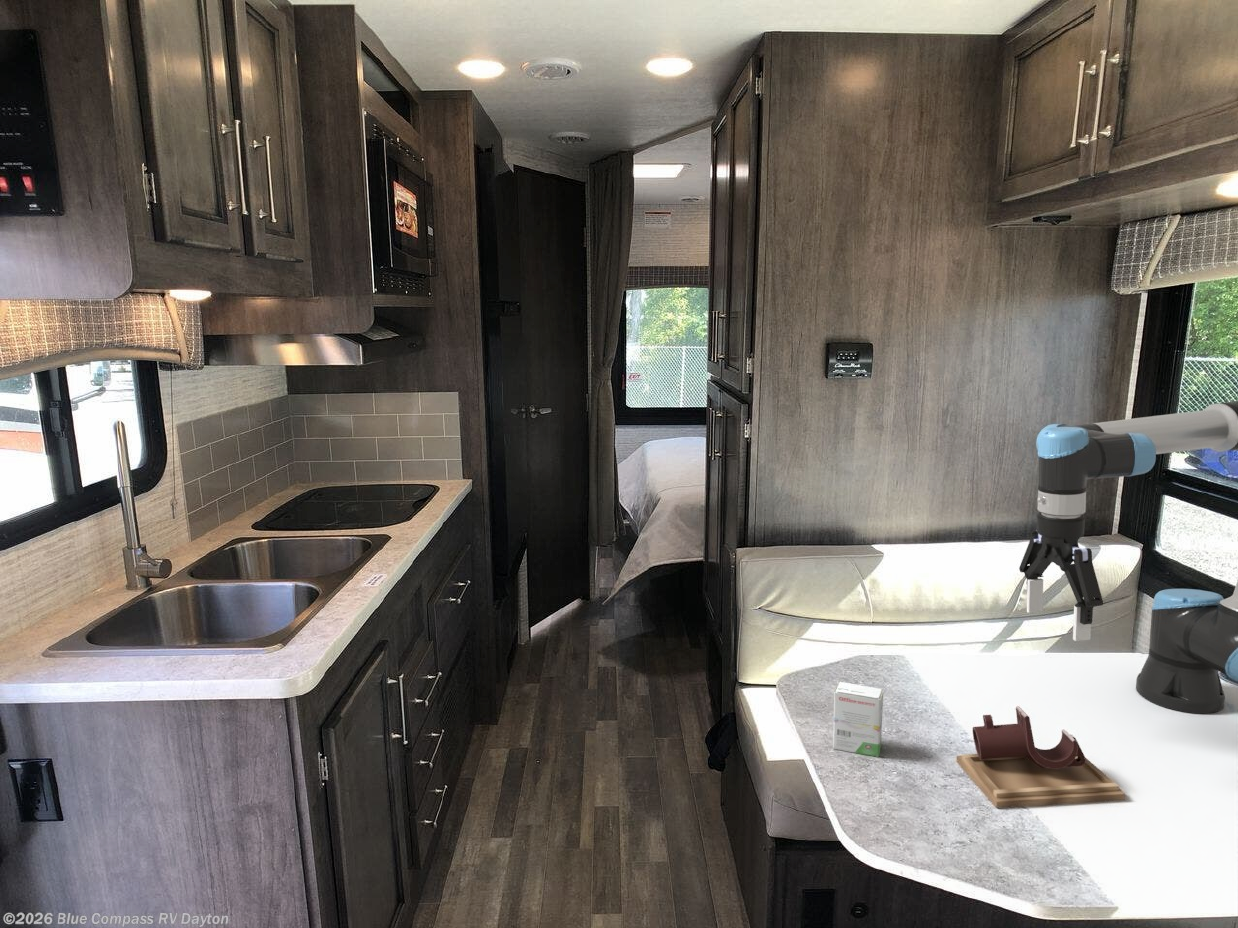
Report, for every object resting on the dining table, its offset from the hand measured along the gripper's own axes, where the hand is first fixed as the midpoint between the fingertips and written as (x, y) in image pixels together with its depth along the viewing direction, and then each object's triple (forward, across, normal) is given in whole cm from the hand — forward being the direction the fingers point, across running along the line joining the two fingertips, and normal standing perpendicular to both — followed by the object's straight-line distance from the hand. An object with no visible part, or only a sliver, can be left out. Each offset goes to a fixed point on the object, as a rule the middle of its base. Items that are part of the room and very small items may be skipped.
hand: (1056, 625), depth 143 cm
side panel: (+24, +10, -10) cm, 28 cm away
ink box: (+23, -4, -36) cm, 43 cm away
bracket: (+22, +7, -10) cm, 25 cm away
